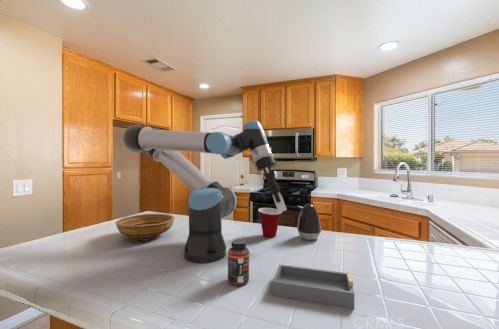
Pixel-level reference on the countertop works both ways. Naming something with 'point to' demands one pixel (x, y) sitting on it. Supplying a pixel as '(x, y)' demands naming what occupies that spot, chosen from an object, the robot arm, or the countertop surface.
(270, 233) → the plastic cup
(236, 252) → the supplement bottle
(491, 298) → the countertop surface
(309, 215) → the pump dispenser
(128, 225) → the brown woven oval bowl
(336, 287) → the trough
